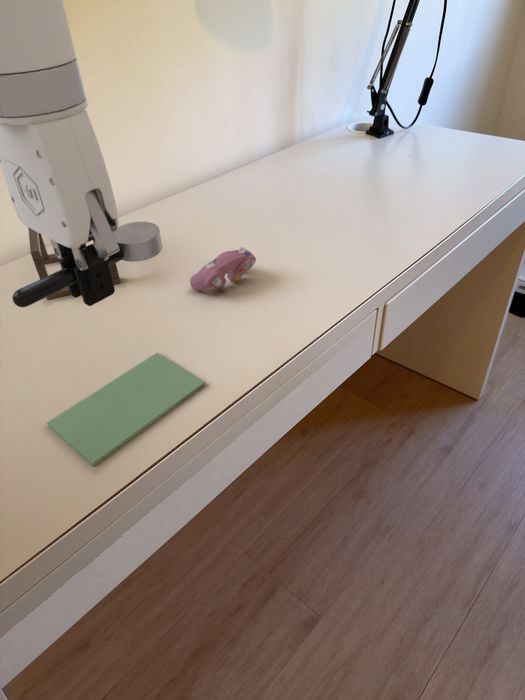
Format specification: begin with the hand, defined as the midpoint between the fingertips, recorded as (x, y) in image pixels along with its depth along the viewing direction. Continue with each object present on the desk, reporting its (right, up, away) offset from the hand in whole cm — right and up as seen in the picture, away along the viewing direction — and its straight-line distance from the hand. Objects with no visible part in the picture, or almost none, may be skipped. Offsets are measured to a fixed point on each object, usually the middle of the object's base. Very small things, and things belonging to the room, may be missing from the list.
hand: (93, 293), depth 51 cm
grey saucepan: (0, +2, -1) cm, 2 cm away
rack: (-13, +7, +35) cm, 38 cm away
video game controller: (+11, +5, +30) cm, 32 cm away
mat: (+1, -12, +10) cm, 16 cm away
